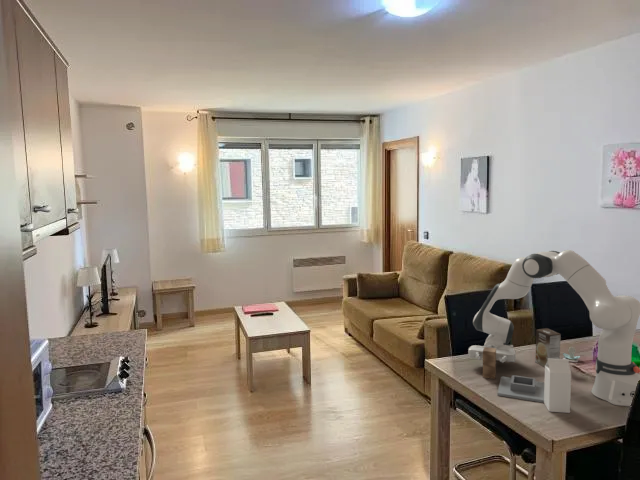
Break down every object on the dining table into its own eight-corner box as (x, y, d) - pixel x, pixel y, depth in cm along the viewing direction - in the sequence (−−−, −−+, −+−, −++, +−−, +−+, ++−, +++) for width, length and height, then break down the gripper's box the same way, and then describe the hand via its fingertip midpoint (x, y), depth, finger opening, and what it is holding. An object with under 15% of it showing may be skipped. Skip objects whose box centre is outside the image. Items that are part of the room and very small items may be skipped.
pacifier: (577, 364, 217) (581, 360, 221) (578, 351, 216) (581, 347, 220) (560, 360, 222) (564, 356, 226) (561, 348, 221) (564, 344, 225)
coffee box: (534, 362, 220) (535, 329, 218) (546, 360, 221) (547, 327, 219) (548, 369, 211) (549, 334, 209) (560, 367, 212) (561, 333, 210)
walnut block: (495, 374, 206) (496, 348, 205) (494, 379, 202) (495, 352, 201) (483, 373, 209) (484, 347, 207) (482, 377, 204) (482, 350, 203)
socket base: (547, 385, 194) (547, 375, 194) (547, 403, 178) (547, 393, 178) (501, 378, 202) (501, 369, 202) (497, 395, 186) (497, 385, 186)
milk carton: (570, 413, 170) (571, 363, 168) (549, 411, 172) (550, 362, 170) (564, 404, 177) (565, 356, 175) (543, 403, 178) (545, 355, 176)
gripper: (470, 340, 222) (465, 349, 210) (516, 345, 213) (514, 355, 201) (470, 353, 223) (465, 363, 210) (516, 358, 214) (514, 369, 202)
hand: (490, 359), depth 206 cm, fingers open, 8 cm apart
